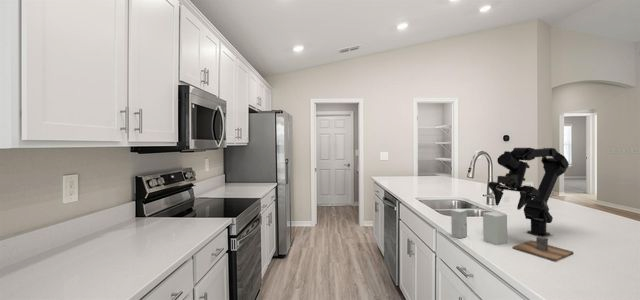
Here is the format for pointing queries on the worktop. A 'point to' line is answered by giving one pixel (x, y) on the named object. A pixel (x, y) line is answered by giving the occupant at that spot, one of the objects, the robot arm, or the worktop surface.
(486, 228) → the pale green box
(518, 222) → the worktop surface
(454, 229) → the skincare box
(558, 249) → the flat brown board
